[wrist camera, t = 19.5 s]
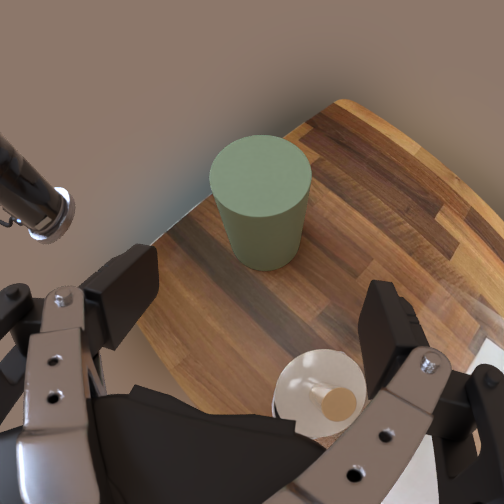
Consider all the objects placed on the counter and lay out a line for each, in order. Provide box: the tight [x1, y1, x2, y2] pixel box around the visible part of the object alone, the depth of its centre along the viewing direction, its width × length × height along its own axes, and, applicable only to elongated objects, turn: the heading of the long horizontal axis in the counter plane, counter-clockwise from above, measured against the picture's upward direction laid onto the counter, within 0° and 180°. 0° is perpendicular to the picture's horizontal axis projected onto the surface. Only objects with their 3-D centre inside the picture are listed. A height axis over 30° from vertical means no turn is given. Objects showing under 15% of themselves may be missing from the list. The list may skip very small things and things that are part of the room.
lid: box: [275, 349, 366, 438], centre depth 21 cm, size 8×8×8 cm
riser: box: [209, 135, 312, 271], centre depth 36 cm, size 10×10×16 cm
